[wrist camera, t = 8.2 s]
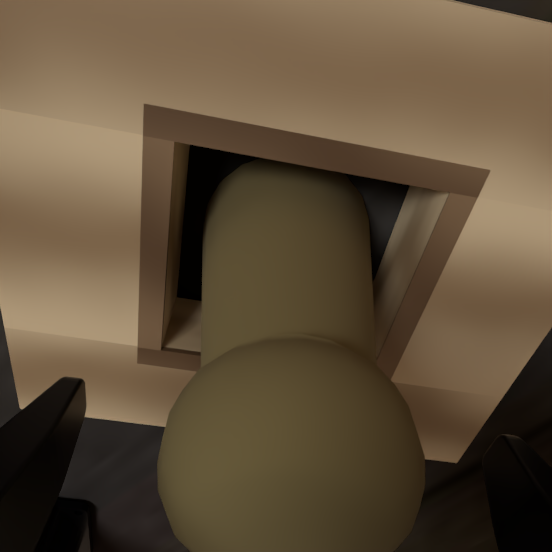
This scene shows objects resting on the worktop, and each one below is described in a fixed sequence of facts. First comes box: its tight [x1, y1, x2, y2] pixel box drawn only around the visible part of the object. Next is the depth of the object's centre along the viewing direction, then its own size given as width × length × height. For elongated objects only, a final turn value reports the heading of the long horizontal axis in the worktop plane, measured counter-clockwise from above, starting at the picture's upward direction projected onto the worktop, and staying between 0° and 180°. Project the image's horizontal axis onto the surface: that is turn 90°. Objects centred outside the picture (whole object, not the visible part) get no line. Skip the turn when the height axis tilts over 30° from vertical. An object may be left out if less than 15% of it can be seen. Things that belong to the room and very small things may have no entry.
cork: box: [157, 158, 425, 552], centre depth 12 cm, size 6×6×11 cm
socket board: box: [0, 0, 552, 463], centre depth 16 cm, size 16×18×3 cm
